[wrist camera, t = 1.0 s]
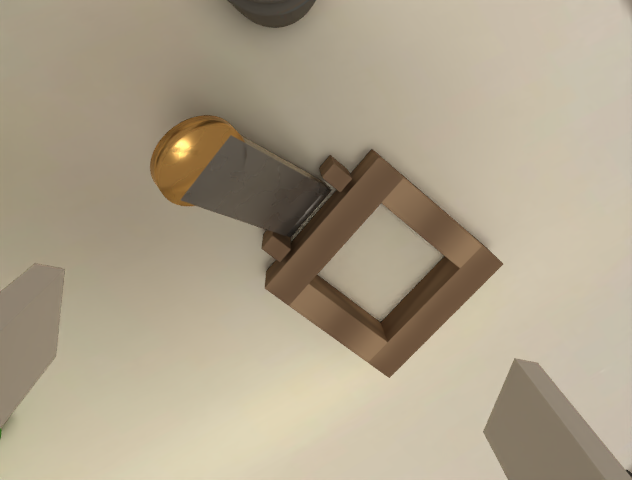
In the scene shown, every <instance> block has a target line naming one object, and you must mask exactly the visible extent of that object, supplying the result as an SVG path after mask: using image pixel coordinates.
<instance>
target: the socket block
mask: <svg viewBox="0 0 632 480" xmlns="http://www.w3.org/2000/svg"><path fill="white" fill-rule="evenodd" d="M319 169H320V172H321V176H322V178H323V179H325V180H326V181H327V182H328V183H329V184H331V185H332V186H333V187H334V188H336V189H337V190H336V191H335V192H334V194H333V195H332V196H331V197H330V198H329V199H328V201H327V202H326V203H325V204H324V205H323V206H322V207H321V209H320V210H319V211H318V212H317V213H316V214H315V216H314V217H313V218H312V219H311V220H310V221H309V223H308V224H307V225H306V226H305V227H304V228H303V229H302V231H301V232H300V233H299V234H298V235H297V236H296V238H295V239H294V240H293V241H292V242H291V238H290V237H288V236H284V235H281V234H278V233H275V232H272V231H269V230H267V231H266V232H265V233H264V234H263V241H262V249H263V250H264V251H265V252H267V253H268V254H269V255H271V256H272V257H273V258H275V259H276V261H275V262H274V263H273V264H272V265H271V267H270V268H269V269H268V270H267V271H266V280H265V289H266V290H268V291H269V292H271V293H272V294H273V295H275V296H276V297H278V298H279V299H280V300H282V301H283V302H284V303H286V304H287V305H289V306H290V307H291V308H293V309H294V310H296V311H297V312H298V313H300V314H301V315H303V316H304V317H305V318H307V319H308V320H309V321H311V322H312V323H314V324H315V325H316V326H318V327H319V328H321V329H322V330H323V331H325V332H326V333H328V334H329V335H330V336H332V337H333V338H334V339H336V340H337V341H339V342H340V343H341V344H343V345H344V346H346V347H347V348H348V349H350V350H351V351H353V352H354V353H355V354H357V355H358V356H359V357H361V358H362V359H364V360H365V361H366V362H368V363H369V364H371V365H372V366H373V367H375V368H376V369H378V370H379V371H380V372H382V373H383V374H384V375H386V376H387V377H389V378H390V377H391V376H392V375H393V374H394V373H395V372H396V371H397V370H398V369H399V368H400V367H401V366H402V365H403V364H404V363H405V362H406V361H407V360H408V359H409V358H410V357H411V356H412V355H413V354H414V353H415V352H416V351H417V350H418V349H419V348H420V347H421V346H422V345H423V344H424V343H425V342H426V341H427V340H428V339H429V338H430V337H431V336H432V335H433V334H434V333H435V332H436V331H437V330H438V329H439V328H440V327H441V326H442V325H443V324H444V323H445V322H446V321H447V320H448V319H449V318H450V317H451V316H452V315H453V314H454V313H455V312H456V311H457V310H458V309H459V308H460V307H461V306H462V305H463V304H464V303H465V302H466V301H467V300H468V299H469V298H470V297H471V296H472V295H473V294H474V293H475V292H476V291H477V290H478V289H479V288H480V287H481V286H482V285H483V284H484V283H485V282H486V281H487V280H488V279H489V278H490V277H491V276H492V275H493V274H494V273H495V272H496V271H497V270H498V269H499V268H500V267H501V266H502V265H503V263H502V262H501V261H500V260H499V259H498V258H497V257H496V256H495V255H494V254H493V253H492V252H490V251H489V250H488V249H487V248H486V247H485V246H484V245H483V244H481V243H480V242H479V241H478V240H477V239H476V238H475V237H473V236H472V235H471V234H470V233H469V232H468V231H466V230H465V229H464V228H463V227H462V226H461V225H460V224H458V223H457V222H456V221H455V220H454V219H453V218H451V217H450V216H449V215H448V214H447V213H446V212H444V211H443V210H442V209H441V208H440V207H439V206H438V205H436V204H435V203H434V202H433V201H432V200H431V199H429V198H428V197H427V196H426V195H425V194H424V193H422V192H421V191H420V190H419V189H418V188H417V187H416V186H414V185H413V184H412V183H411V182H410V181H409V180H407V179H406V178H405V177H404V176H403V175H402V174H400V173H399V172H398V171H397V170H396V169H395V168H394V167H392V166H391V165H390V164H389V163H388V162H387V161H385V160H384V159H383V158H382V157H381V156H380V155H378V154H377V153H376V152H375V151H374V150H373V149H372V150H371V151H370V152H369V153H368V154H367V155H366V157H365V158H364V159H363V160H362V161H361V162H360V163H359V165H358V166H357V167H356V168H355V169H354V170H353V172H352V173H351V174H350V173H349V171H348V170H347V169H346V168H345V167H344V166H343V165H342V164H340V163H339V162H338V161H337V160H336V159H334V158H333V157H332V156H331V155H330V156H329V157H328V158H327V159H326V161H325V162H324V163H323V164H322V165H321V167H320V168H319ZM381 203H382V204H383V205H384V206H386V207H387V208H388V209H389V210H390V211H392V212H393V213H394V214H395V215H396V216H398V217H399V218H400V219H401V220H402V221H404V222H405V223H406V224H407V225H408V226H410V227H411V228H412V229H413V230H414V231H416V232H417V233H418V234H419V235H420V236H422V237H423V238H424V239H425V240H426V241H428V242H429V243H430V244H431V245H432V246H434V247H435V248H436V249H437V250H438V251H440V252H441V253H442V254H443V255H444V257H443V259H442V260H441V261H440V262H439V263H438V264H437V265H436V266H435V267H434V268H433V269H432V270H431V271H430V272H429V273H428V274H427V275H426V276H425V277H424V278H423V279H422V280H421V281H420V282H419V283H418V284H417V286H416V287H415V288H414V289H413V290H412V291H411V292H410V293H409V294H408V295H407V296H406V297H405V298H404V299H403V300H402V301H401V302H400V303H399V304H398V305H397V306H396V307H395V308H394V309H393V310H392V311H391V313H390V314H389V315H388V316H387V317H386V318H385V319H384V320H383V321H382V322H379V321H378V320H377V319H375V318H374V317H373V316H371V315H370V314H369V313H367V312H366V311H365V310H363V309H362V308H361V307H359V306H358V305H357V304H355V303H354V302H353V301H351V300H350V299H349V298H347V297H346V296H345V295H343V294H342V293H341V292H339V291H338V290H337V289H335V288H334V287H333V286H331V285H330V284H329V283H327V282H326V281H325V280H323V279H322V278H321V277H319V276H318V275H317V274H318V273H319V272H320V271H321V270H322V268H323V267H324V266H325V265H326V264H327V263H328V262H329V261H330V260H331V258H332V257H333V256H334V255H335V254H336V253H337V252H338V251H339V249H340V248H341V247H342V246H343V245H344V244H345V243H346V242H347V241H348V239H349V238H350V237H351V236H352V235H353V234H354V233H355V232H356V231H357V229H358V228H359V227H360V226H361V225H362V224H363V223H364V222H365V220H366V219H367V218H368V217H369V216H370V215H371V214H372V213H373V212H374V210H375V209H376V208H377V207H378V206H379V205H380V204H381Z"/></svg>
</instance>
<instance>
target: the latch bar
mask: <svg viewBox="0 0 632 480" xmlns="http://www.w3.org/2000/svg"><path fill="white" fill-rule="evenodd" d="M150 171H151V176H152V179H153V181H154V182H155V184H156V185H157V187H158V188H159V189H160V191H161V192H162V194H163V195H164V196H165V198H167V199H168V200H169V201H170V202H172V203H174V204H177V205H181V206H198V207H201V208H204V209H207V210H210V211H213V212H216V213H219V214H222V215H225V216H228V217H231V218H234V219H237V220H240V221H243V222H246V223H248V224H251V225H254V226H257V227H260V228H263V229H266V230H269V231H272V232H275V233H278V234H281V235H284V236H288V237H290V238H291V237H292V235H293V234H294V233H295V232H296V231H297V230H298V228H299V227H300V226H301V225H302V224H303V223H304V222H305V220H306V219H307V218H308V217H309V216H310V215H311V213H312V212H313V211H314V210H315V209H316V208H317V206H318V205H319V204H320V203H321V202H322V201H323V199H324V198H325V197H326V196H327V195H328V194H329V192H330V191H331V188H330V187H329V186H328V185H327V184H325V183H324V182H323V181H321V180H319V179H318V178H316V177H314V176H312V175H310V174H309V173H307V172H305V171H303V170H302V169H300V168H298V167H296V166H294V165H293V164H291V163H289V162H287V161H286V160H284V159H282V158H280V157H278V156H277V155H275V154H273V153H271V152H270V151H268V150H266V149H264V148H262V147H261V146H259V145H257V144H255V143H254V142H252V141H250V140H248V139H246V138H245V137H243V136H241V135H240V134H239V133H238V132H237V131H236V130H235V129H234V128H233V127H232V125H231V124H230V123H229V122H227V121H226V120H224V119H222V118H220V117H216V116H210V115H204V116H197V117H193V118H190V119H187V120H185V121H183V122H181V123H179V124H178V125H176V126H174V127H173V128H172V129H171V130H169V131H168V132H167V133H166V134H165V135H164V136H163V137H162V139H161V140H160V141H159V143H158V144H157V146H156V148H155V150H154V152H153V155H152V158H151V162H150Z"/></svg>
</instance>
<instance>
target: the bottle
mask: <svg viewBox="0 0 632 480" xmlns="http://www.w3.org/2000/svg"><path fill="white" fill-rule="evenodd" d="M228 1H229V2H230V3H231V4H232V5H233V6H234V7H235V8H236V9H237V10H239V11H240V12H241V13H242V14H243V15H244V16H246V17H247V18H248V19H250V20H251V21H253V22H255V23H257V24H260V25H262V26H266V27H283V26H287V25H290V24H292V23H294V22H296V21H298V20H299V19H301V18H302V17H303V16H304V15H305V14H306V13H307V12H308V11H309V10H310V8H311V7H312V5H313V4H314V2H315V1H316V0H228Z"/></svg>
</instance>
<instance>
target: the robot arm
mask: <svg viewBox="0 0 632 480" xmlns="http://www.w3.org/2000/svg"><path fill="white" fill-rule="evenodd" d="M64 272H65V269H62V268H57V267H52V266H47V265H42V264H37V263H35V264H33V265H32V266H31V267H30V268H29V269H27V270H26V271H25V272H24V273H23V274H21V275H20V276H19V277H18V278H17V279H15V280H14V281H13V282H12V283H10V284H9V285H8V286H7V287H6V288H4V289H3V290H2V291H1V292H0V429H1V427H2V426H3V425H4V423H5V422H6V421H7V419H8V418H9V417H10V416H11V414H12V413H13V412H14V410H15V409H16V408H17V406H18V405H19V404H20V403H21V401H22V400H23V399H24V397H25V396H26V395H27V393H28V392H29V391H30V389H31V388H32V387H33V386H34V384H35V383H36V382H37V380H38V379H39V378H40V376H41V375H42V374H43V373H44V371H45V370H46V369H47V367H48V366H49V365H50V363H51V362H52V361H53V359H54V358H55V357H56V351H57V342H58V332H59V322H60V312H61V302H62V292H63V282H64ZM483 432H484V434H485V436H486V438H487V440H488V442H489V444H490V446H491V448H492V450H493V452H494V453H495V455H496V457H497V459H498V461H499V463H500V465H501V467H502V469H503V471H504V473H505V475H506V477H507V478H508V480H632V473H631V472H630V471H628V470H625V469H624V468H623V467H622V465H621V464H620V463H619V462H618V460H617V459H616V458H615V457H614V456H613V454H612V453H611V452H610V451H609V449H608V448H607V447H606V446H605V445H604V443H603V442H602V441H601V440H600V438H599V437H598V436H597V435H596V433H595V432H594V431H593V430H592V429H591V427H590V426H589V425H588V424H587V422H586V421H585V420H584V419H583V418H582V416H581V415H580V414H579V413H578V411H577V410H576V409H575V408H574V407H573V405H572V404H571V403H570V402H569V400H568V399H567V398H566V397H565V395H564V394H563V393H562V392H561V391H560V389H559V388H558V387H557V386H556V384H555V383H554V382H553V381H552V380H551V378H550V377H549V376H548V375H547V373H546V372H545V371H544V370H543V368H542V367H541V366H540V365H539V364H538V363H536V362H531V361H526V360H521V359H516V358H515V359H514V361H513V363H512V366H511V368H510V370H509V373H508V375H507V377H506V380H505V382H504V384H503V387H502V389H501V391H500V394H499V396H498V398H497V401H496V403H495V405H494V408H493V410H492V412H491V415H490V417H489V419H488V422H487V424H486V426H485V429H484V431H483Z"/></svg>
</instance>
